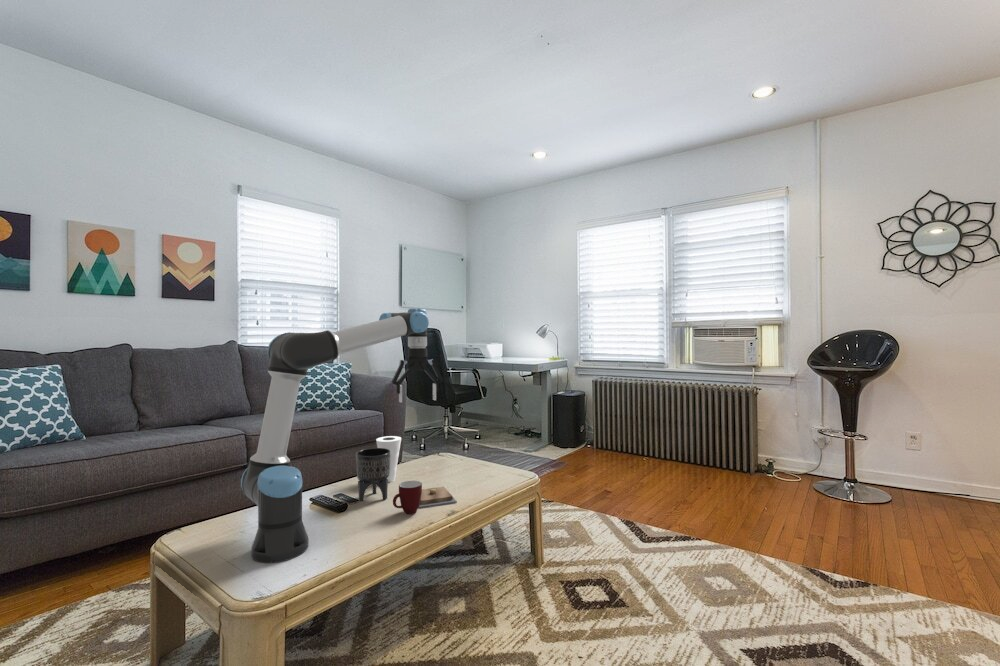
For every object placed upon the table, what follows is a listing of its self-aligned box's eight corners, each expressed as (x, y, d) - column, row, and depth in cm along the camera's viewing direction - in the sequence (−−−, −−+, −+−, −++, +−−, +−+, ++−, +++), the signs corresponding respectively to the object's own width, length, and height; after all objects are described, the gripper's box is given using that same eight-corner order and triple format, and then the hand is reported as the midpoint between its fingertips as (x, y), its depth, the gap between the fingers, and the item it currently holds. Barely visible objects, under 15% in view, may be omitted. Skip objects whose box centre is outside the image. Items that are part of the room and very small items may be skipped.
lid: (421, 504, 170) (421, 496, 170) (414, 494, 181) (414, 486, 181) (452, 499, 175) (452, 492, 175) (443, 489, 186) (443, 483, 186)
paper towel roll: (371, 481, 199) (370, 439, 199) (390, 475, 207) (389, 435, 207) (387, 486, 193) (387, 442, 193) (406, 479, 201) (406, 438, 201)
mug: (400, 520, 157) (400, 491, 157) (388, 514, 163) (388, 485, 163) (426, 512, 164) (426, 484, 164) (413, 506, 170) (413, 479, 170)
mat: (419, 508, 168) (419, 506, 168) (410, 494, 183) (410, 492, 183) (456, 502, 173) (456, 501, 173) (444, 489, 188) (444, 488, 188)
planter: (365, 506, 170) (364, 458, 170) (350, 497, 180) (350, 451, 180) (396, 498, 178) (396, 452, 178) (381, 489, 188) (380, 446, 188)
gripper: (387, 348, 175) (387, 404, 175) (450, 347, 185) (450, 400, 185) (384, 347, 182) (384, 401, 182) (445, 346, 192) (445, 397, 192)
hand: (417, 401), depth 184 cm, fingers open, 13 cm apart
